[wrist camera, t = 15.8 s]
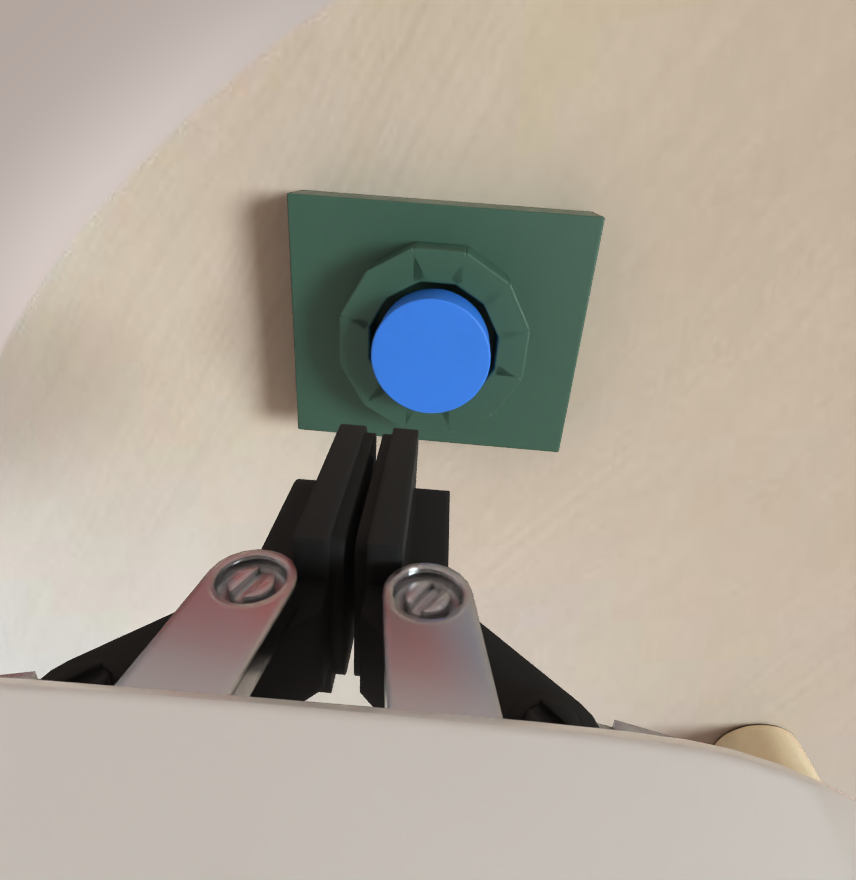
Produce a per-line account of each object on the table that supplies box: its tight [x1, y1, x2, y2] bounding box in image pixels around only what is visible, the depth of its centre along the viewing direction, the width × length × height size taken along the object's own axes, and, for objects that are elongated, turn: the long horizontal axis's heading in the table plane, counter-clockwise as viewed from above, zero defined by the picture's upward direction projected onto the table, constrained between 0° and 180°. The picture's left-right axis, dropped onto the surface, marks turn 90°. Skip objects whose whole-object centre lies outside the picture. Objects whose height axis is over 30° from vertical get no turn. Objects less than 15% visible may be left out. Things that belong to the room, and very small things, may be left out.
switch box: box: [287, 190, 605, 452], centre depth 23 cm, size 12×10×4 cm
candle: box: [715, 725, 820, 781], centre depth 32 cm, size 6×6×10 cm
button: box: [371, 289, 491, 413], centre depth 21 cm, size 4×4×2 cm
